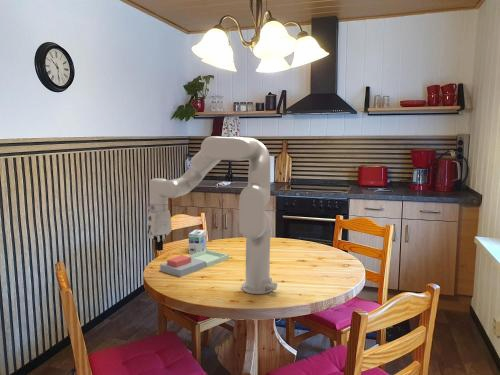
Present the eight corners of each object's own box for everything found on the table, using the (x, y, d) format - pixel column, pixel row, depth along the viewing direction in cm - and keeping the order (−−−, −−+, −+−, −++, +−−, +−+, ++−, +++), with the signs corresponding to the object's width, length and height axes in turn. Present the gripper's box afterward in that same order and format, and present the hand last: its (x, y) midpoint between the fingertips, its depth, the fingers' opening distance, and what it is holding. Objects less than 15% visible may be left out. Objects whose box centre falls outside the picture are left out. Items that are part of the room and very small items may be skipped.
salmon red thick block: (191, 262, 178) (191, 257, 177) (176, 267, 170) (176, 262, 170) (181, 260, 181) (181, 255, 181) (167, 265, 174) (167, 259, 174)
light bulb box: (200, 254, 200) (200, 234, 199) (188, 254, 201) (188, 233, 200) (207, 249, 210) (207, 229, 209) (195, 248, 212) (195, 229, 211)
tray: (228, 258, 193) (228, 254, 193) (206, 267, 180) (206, 262, 180) (206, 253, 202) (206, 249, 201) (184, 261, 189) (184, 257, 188)
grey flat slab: (205, 267, 180) (205, 261, 180) (180, 277, 167) (180, 270, 167) (185, 262, 188) (185, 256, 187) (160, 271, 175) (160, 264, 174)
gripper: (150, 211, 155) (151, 255, 158) (178, 206, 167) (178, 247, 170) (138, 208, 160) (139, 252, 162) (166, 204, 172) (166, 244, 174)
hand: (159, 249), depth 166 cm, fingers closed
